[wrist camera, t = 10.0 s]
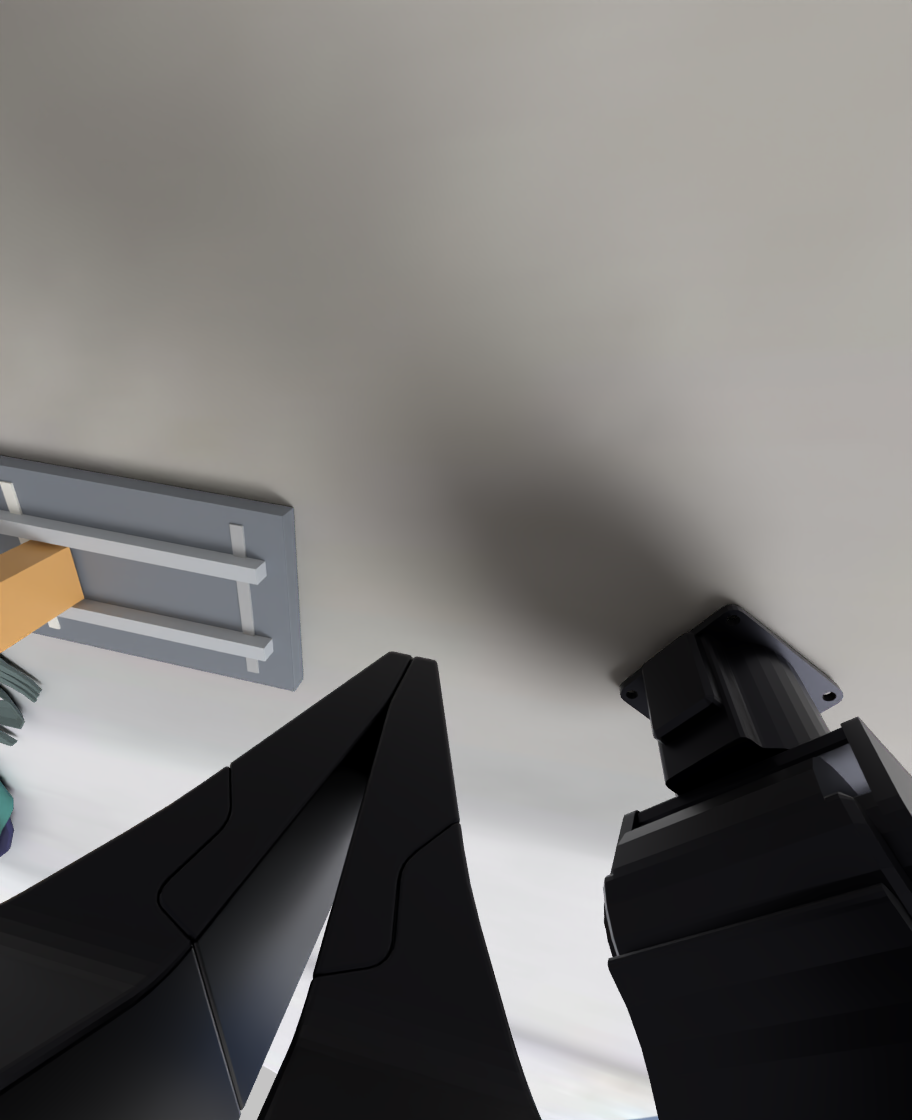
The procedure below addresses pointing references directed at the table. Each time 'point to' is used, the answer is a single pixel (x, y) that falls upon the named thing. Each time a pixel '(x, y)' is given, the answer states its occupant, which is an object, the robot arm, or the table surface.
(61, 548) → the tan wooden bar
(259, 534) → the board
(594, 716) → the table surface
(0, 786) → the cutlery set
